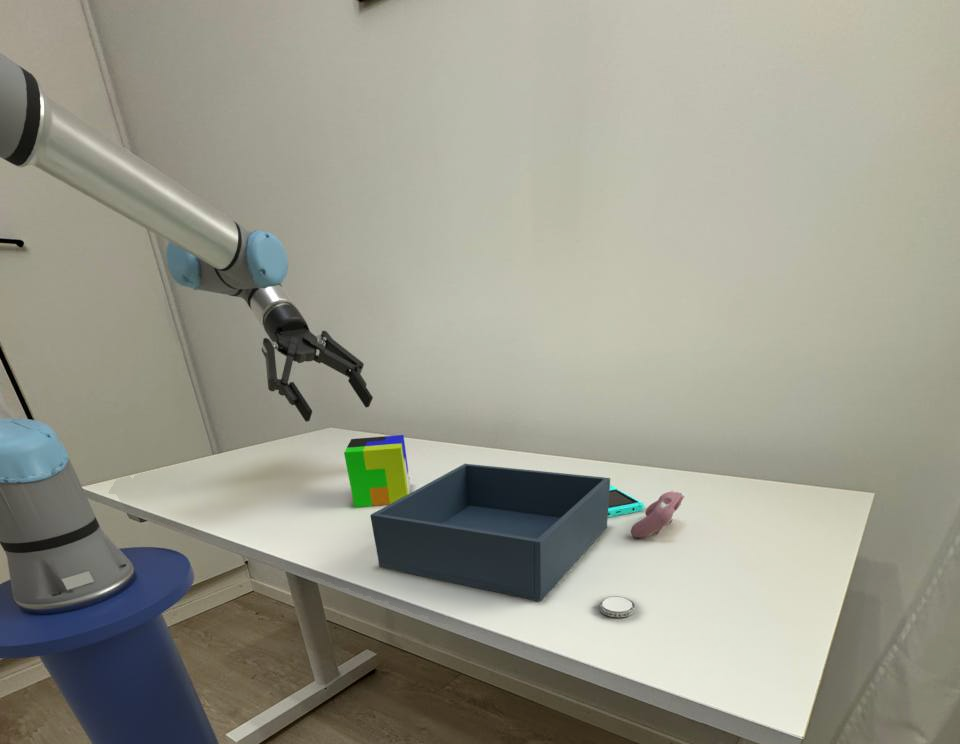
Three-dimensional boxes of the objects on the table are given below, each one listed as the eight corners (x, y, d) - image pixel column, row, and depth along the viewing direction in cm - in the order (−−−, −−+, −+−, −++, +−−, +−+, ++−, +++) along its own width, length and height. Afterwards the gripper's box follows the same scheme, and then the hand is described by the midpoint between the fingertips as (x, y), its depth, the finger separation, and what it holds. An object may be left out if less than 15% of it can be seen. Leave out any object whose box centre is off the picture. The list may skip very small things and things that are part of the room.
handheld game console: (599, 483, 106) (599, 476, 105) (645, 510, 93) (646, 502, 92) (550, 492, 103) (551, 485, 102) (592, 520, 90) (592, 512, 90)
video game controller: (652, 551, 83) (679, 514, 78) (626, 534, 83) (651, 496, 79) (667, 527, 90) (693, 492, 85) (644, 512, 91) (668, 476, 86)
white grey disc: (628, 599, 68) (629, 594, 68) (638, 615, 65) (638, 611, 64) (596, 601, 68) (596, 597, 68) (604, 618, 65) (604, 613, 64)
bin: (379, 567, 80) (370, 514, 76) (468, 508, 99) (464, 463, 94) (540, 601, 69) (540, 542, 65) (607, 528, 87) (610, 477, 83)
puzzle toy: (410, 486, 112) (403, 434, 106) (408, 502, 103) (400, 448, 98) (360, 490, 111) (351, 438, 106) (354, 507, 103) (344, 452, 98)
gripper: (331, 327, 116) (386, 410, 115) (216, 342, 102) (277, 436, 101) (340, 297, 110) (398, 384, 109) (219, 308, 96) (284, 408, 95)
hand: (340, 409), depth 105 cm, fingers open, 13 cm apart
